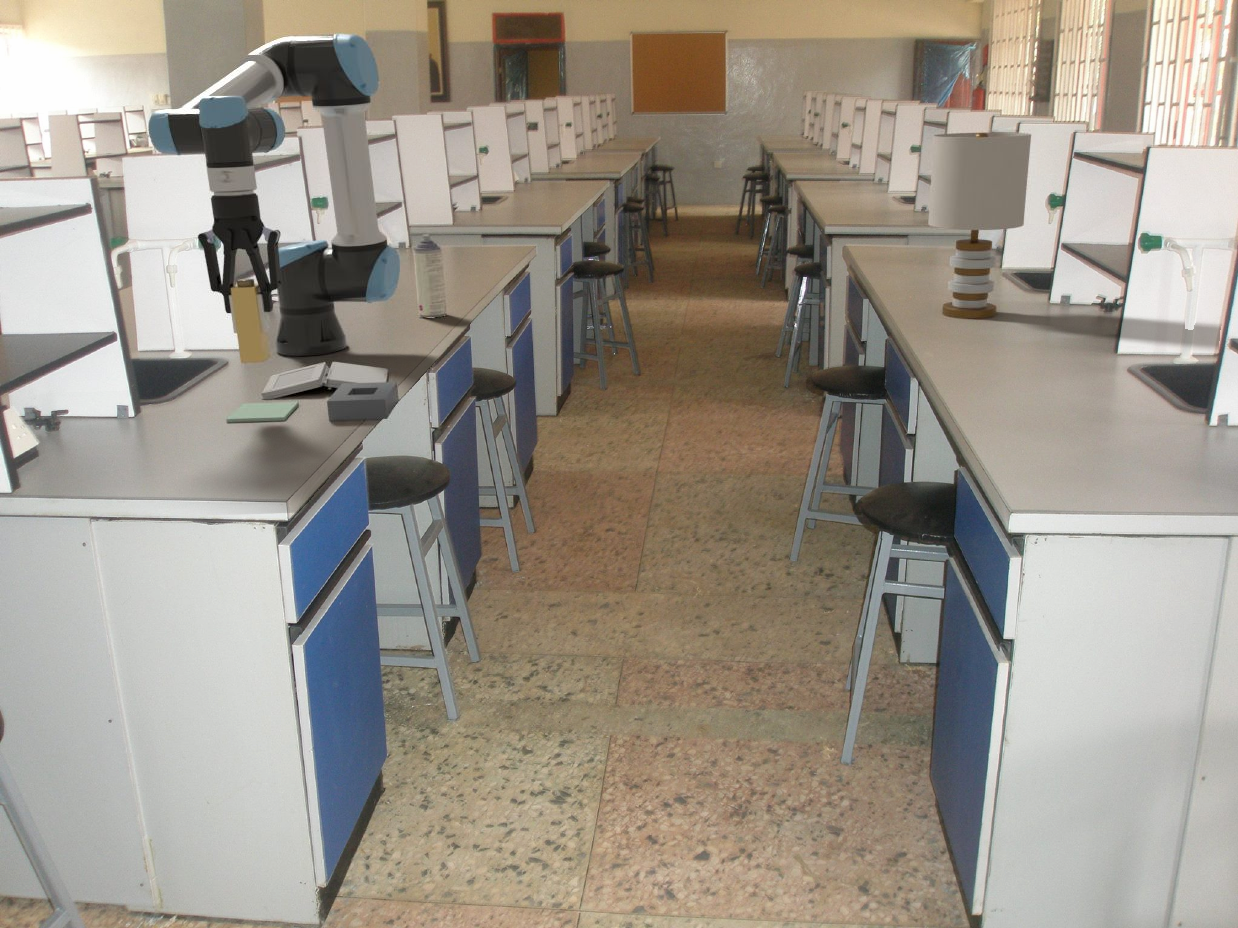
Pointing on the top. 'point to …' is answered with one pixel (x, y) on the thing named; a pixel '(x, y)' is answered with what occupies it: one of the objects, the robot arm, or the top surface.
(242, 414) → the mat
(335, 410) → the grey block with hole
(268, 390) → the gadget
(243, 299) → the plug
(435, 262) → the aerosol can
